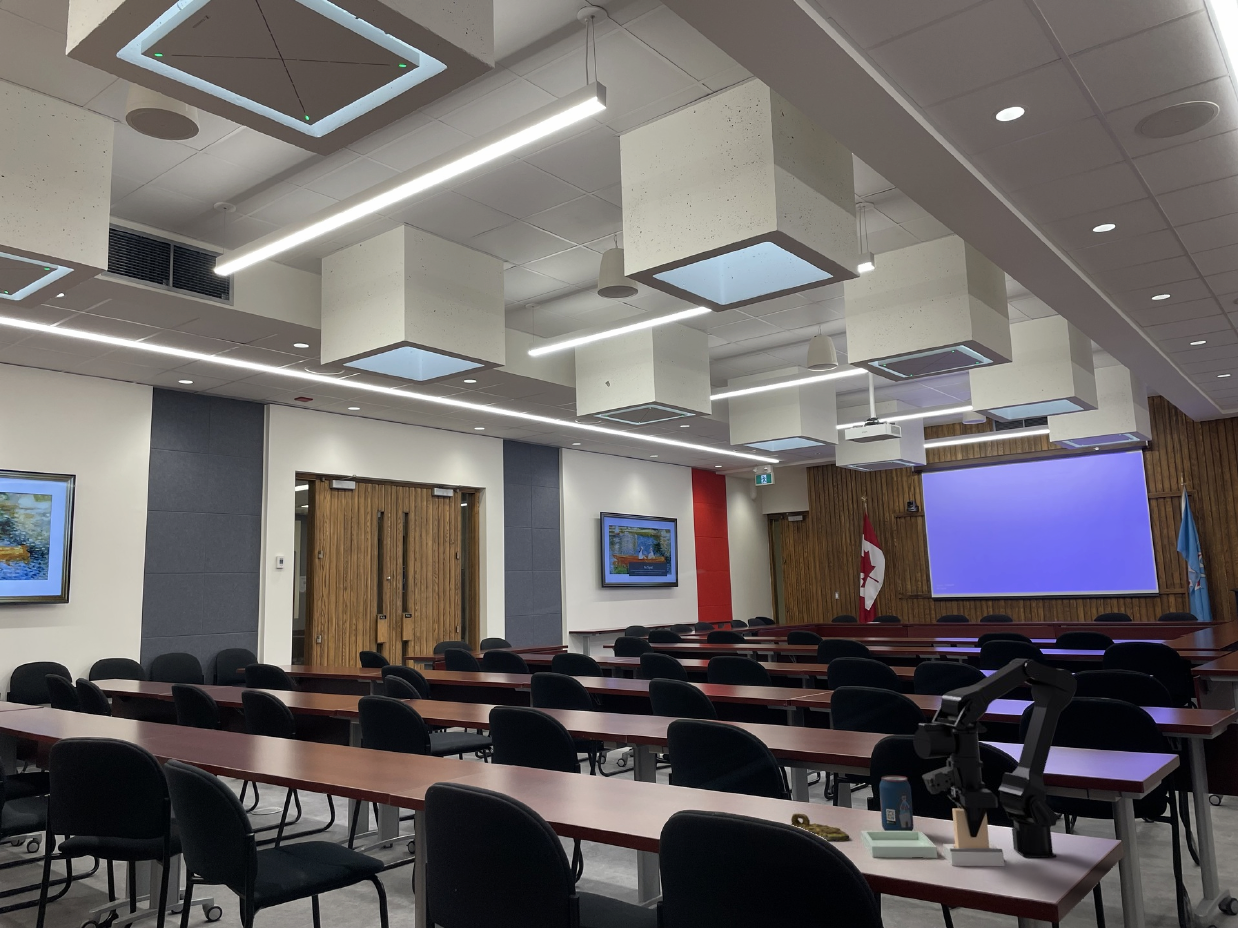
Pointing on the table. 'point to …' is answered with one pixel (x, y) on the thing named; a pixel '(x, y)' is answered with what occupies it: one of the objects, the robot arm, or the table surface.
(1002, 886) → the table surface
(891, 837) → the tray
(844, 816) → the table surface
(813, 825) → the seal
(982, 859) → the dispenser
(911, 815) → the soda can
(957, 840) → the tan cardboard block
